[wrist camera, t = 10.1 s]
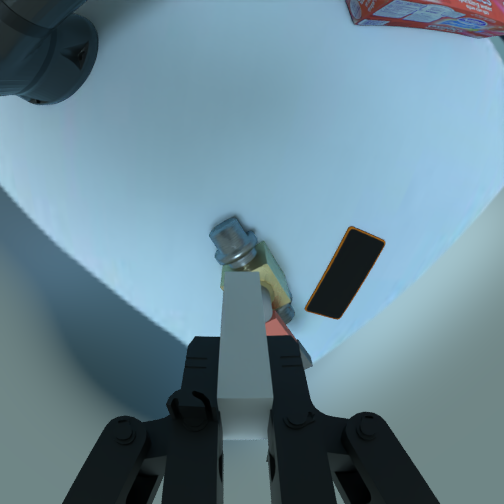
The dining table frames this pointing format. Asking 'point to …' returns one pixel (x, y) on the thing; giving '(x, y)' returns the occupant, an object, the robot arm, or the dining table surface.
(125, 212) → the dining table surface
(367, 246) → the smartphone
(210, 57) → the dining table surface
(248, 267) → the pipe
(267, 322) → the lever
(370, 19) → the box
